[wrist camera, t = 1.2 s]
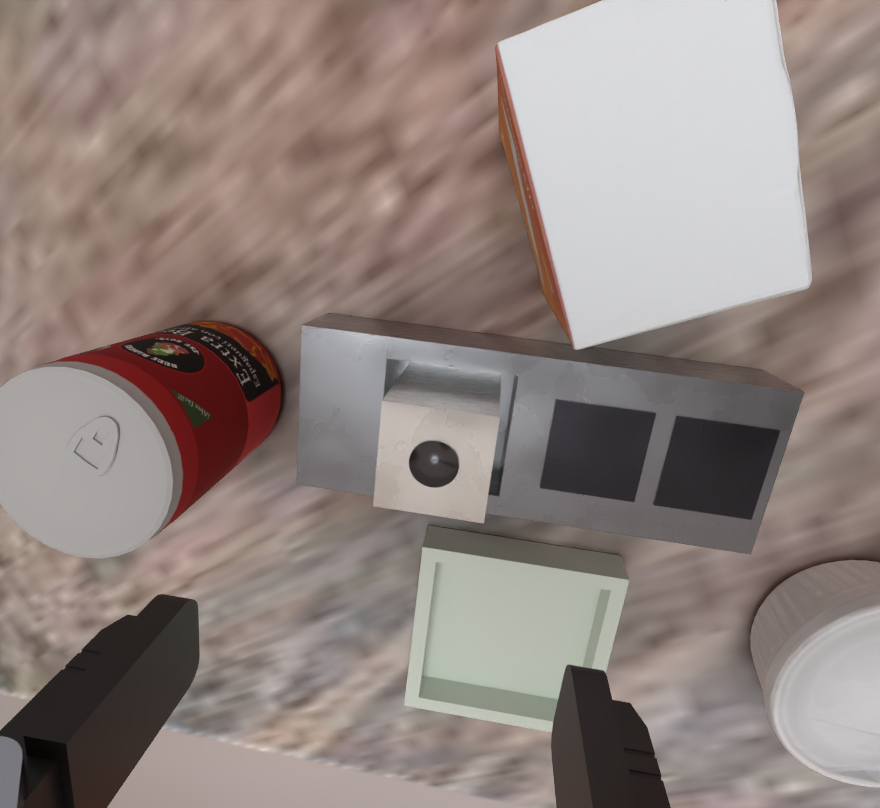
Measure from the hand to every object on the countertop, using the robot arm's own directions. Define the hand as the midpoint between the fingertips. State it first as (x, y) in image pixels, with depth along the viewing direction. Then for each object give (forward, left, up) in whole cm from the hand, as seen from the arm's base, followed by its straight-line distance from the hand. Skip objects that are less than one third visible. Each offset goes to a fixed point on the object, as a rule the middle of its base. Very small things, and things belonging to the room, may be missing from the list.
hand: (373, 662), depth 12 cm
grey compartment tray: (-4, 0, -19) cm, 19 cm away
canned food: (+13, +1, -19) cm, 23 cm away
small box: (-5, -11, -19) cm, 22 cm away
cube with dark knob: (0, 0, -18) cm, 18 cm away
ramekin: (-23, +10, -19) cm, 31 cm away
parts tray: (-5, +13, -19) cm, 23 cm away
